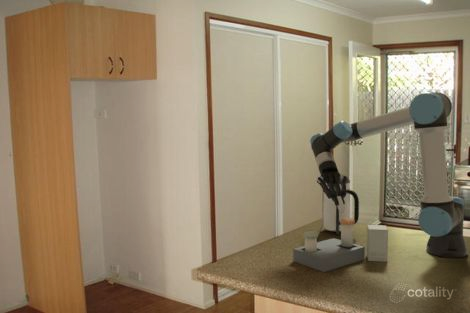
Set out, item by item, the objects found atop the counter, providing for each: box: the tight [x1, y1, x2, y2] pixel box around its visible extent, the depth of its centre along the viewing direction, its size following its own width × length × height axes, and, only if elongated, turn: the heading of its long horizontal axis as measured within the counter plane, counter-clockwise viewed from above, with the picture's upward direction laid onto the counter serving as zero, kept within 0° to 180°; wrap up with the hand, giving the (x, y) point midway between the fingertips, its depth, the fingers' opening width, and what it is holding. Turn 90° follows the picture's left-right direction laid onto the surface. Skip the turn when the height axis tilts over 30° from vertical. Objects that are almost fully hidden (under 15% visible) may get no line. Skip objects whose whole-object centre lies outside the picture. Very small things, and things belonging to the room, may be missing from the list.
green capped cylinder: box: [302, 230, 319, 253], centre depth 183 cm, size 6×6×10 cm
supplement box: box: [366, 224, 389, 263], centre depth 186 cm, size 7×7×13 cm
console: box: [292, 237, 366, 273], centre depth 186 cm, size 16×23×5 cm
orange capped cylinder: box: [340, 217, 355, 247], centre depth 187 cm, size 6×6×10 cm
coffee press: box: [319, 170, 360, 236], centre depth 225 cm, size 17×16×30 cm
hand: (342, 211), depth 189 cm, fingers closed
